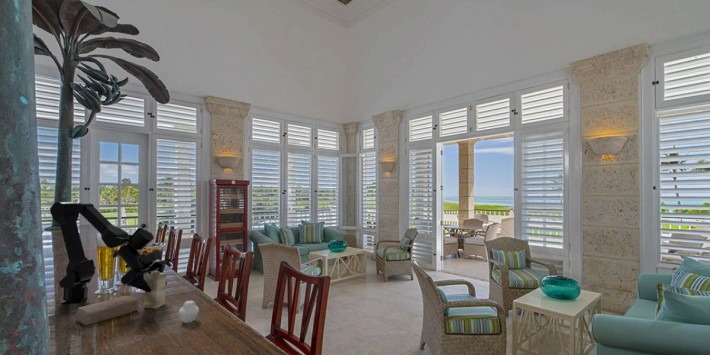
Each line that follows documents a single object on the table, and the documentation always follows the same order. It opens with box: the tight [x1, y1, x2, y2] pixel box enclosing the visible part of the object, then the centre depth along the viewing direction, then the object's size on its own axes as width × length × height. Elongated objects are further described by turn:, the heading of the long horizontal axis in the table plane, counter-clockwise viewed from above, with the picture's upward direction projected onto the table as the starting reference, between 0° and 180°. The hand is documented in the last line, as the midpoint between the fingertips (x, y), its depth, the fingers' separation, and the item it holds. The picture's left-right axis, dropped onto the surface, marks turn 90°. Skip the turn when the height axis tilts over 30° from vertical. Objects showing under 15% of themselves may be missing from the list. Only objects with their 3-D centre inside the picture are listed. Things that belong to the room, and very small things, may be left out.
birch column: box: [143, 271, 167, 309], centre depth 130 cm, size 5×5×13 cm
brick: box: [75, 295, 140, 326], centre depth 119 cm, size 17×8×5 cm, turn 151°
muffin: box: [179, 300, 200, 324], centre depth 116 cm, size 6×6×7 cm
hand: (158, 288), depth 130 cm, fingers open, 9 cm apart
